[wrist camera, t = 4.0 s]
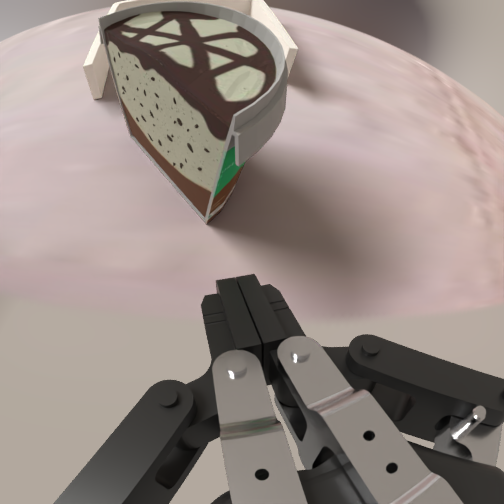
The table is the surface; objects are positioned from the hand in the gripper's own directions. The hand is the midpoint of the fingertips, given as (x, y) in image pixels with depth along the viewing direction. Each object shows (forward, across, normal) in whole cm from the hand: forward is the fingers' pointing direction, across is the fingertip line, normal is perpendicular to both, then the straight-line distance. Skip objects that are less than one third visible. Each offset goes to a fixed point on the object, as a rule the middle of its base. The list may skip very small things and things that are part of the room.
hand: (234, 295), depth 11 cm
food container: (+11, 0, -4) cm, 12 cm away
